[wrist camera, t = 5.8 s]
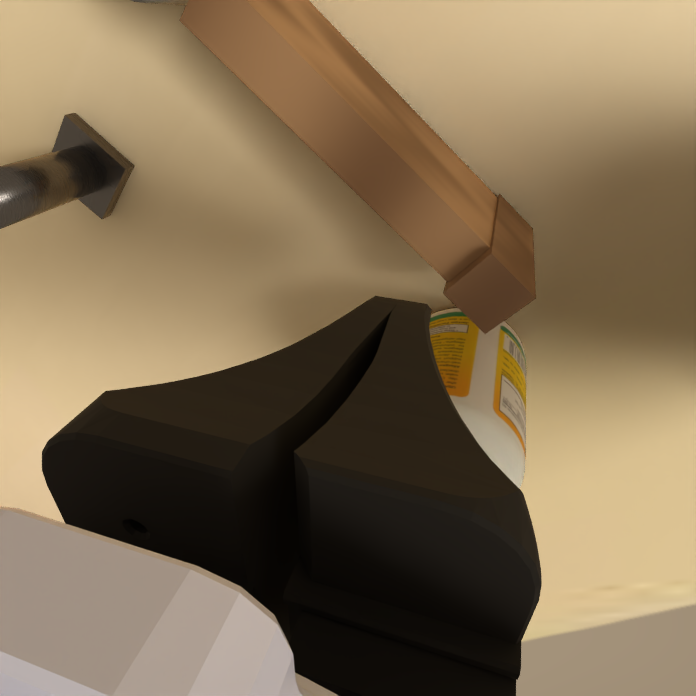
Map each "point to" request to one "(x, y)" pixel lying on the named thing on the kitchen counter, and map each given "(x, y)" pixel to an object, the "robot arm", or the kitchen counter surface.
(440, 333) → the supplement bottle
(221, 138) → the kitchen counter surface
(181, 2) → the fence
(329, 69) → the brown wooden block
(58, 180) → the latch post
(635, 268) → the kitchen counter surface
